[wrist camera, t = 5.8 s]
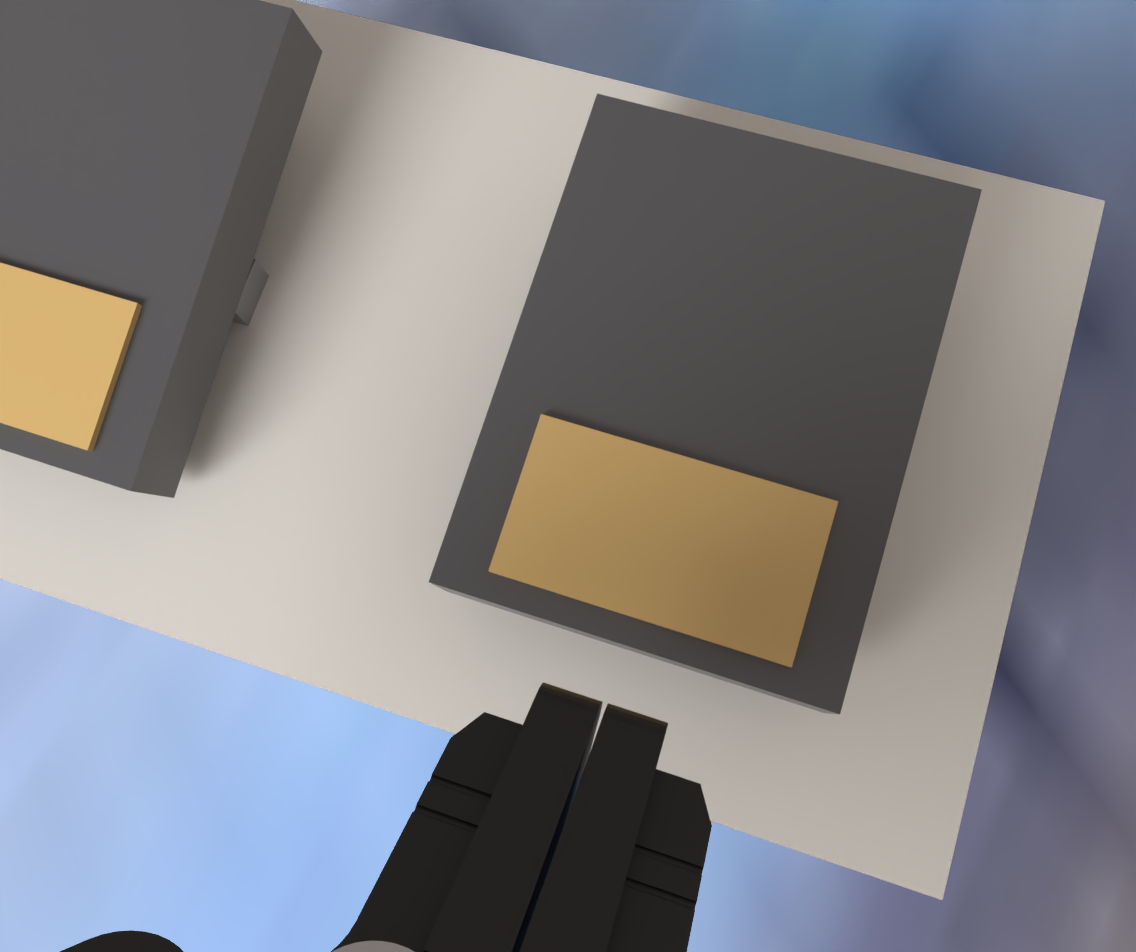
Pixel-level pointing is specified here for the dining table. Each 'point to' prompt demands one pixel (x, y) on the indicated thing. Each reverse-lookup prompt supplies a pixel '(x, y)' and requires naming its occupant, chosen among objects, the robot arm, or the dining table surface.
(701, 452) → the rocker outer
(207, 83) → the block
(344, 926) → the dining table surface
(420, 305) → the switch box
